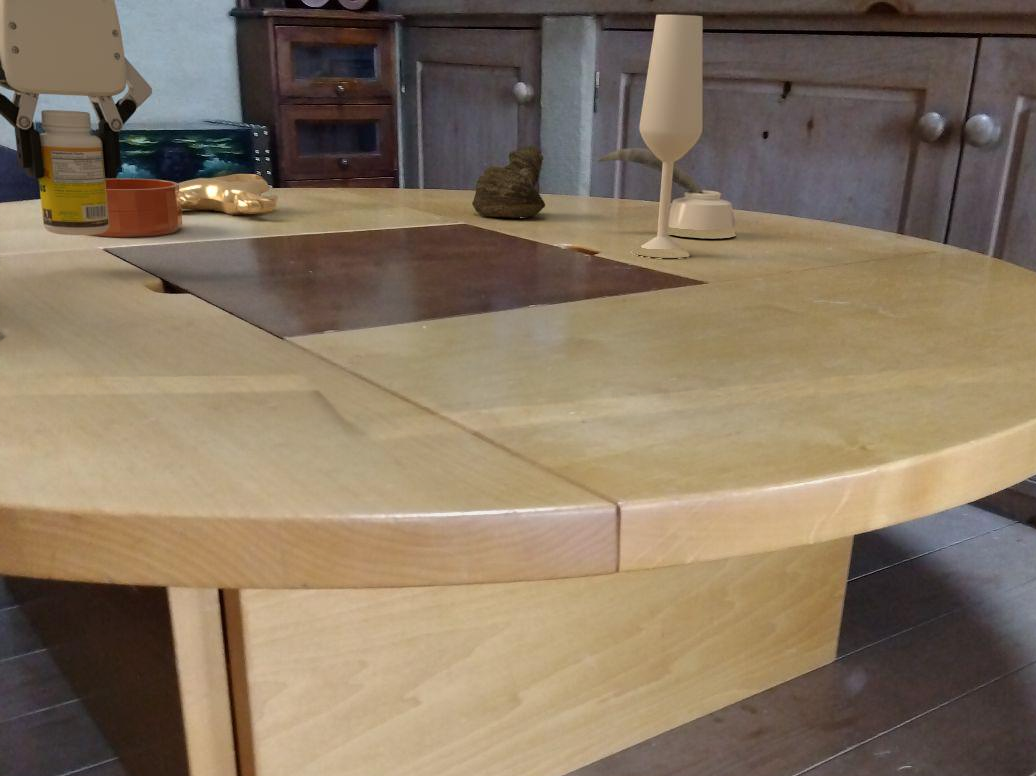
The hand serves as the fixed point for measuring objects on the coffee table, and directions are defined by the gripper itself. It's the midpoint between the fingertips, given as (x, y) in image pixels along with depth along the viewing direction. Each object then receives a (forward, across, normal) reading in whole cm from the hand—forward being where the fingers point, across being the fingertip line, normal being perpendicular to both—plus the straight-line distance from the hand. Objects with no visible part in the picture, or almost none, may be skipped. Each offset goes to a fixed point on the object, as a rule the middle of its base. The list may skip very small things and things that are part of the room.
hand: (71, 175), depth 100 cm
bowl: (+8, -12, -23) cm, 27 cm away
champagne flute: (+7, -58, +16) cm, 61 cm away
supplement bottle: (+5, 0, 0) cm, 5 cm away
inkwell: (+7, -69, +5) cm, 69 cm away
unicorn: (+8, -27, -33) cm, 43 cm away
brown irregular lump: (+7, -59, -17) cm, 62 cm away
